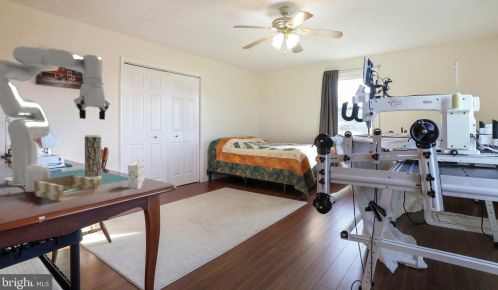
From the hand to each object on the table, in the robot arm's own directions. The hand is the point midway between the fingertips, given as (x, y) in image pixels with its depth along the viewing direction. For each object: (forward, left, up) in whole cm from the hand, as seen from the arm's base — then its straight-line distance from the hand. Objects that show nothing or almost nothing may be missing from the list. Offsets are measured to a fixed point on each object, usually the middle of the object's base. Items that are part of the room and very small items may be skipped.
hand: (92, 119), depth 124 cm
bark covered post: (0, 0, -33) cm, 33 cm away
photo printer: (-11, -18, -33) cm, 39 cm away
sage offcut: (+8, -16, -32) cm, 36 cm away
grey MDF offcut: (+11, -16, -32) cm, 37 cm away
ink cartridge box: (+17, +10, -33) cm, 39 cm away
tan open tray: (+6, -16, -33) cm, 37 cm away
